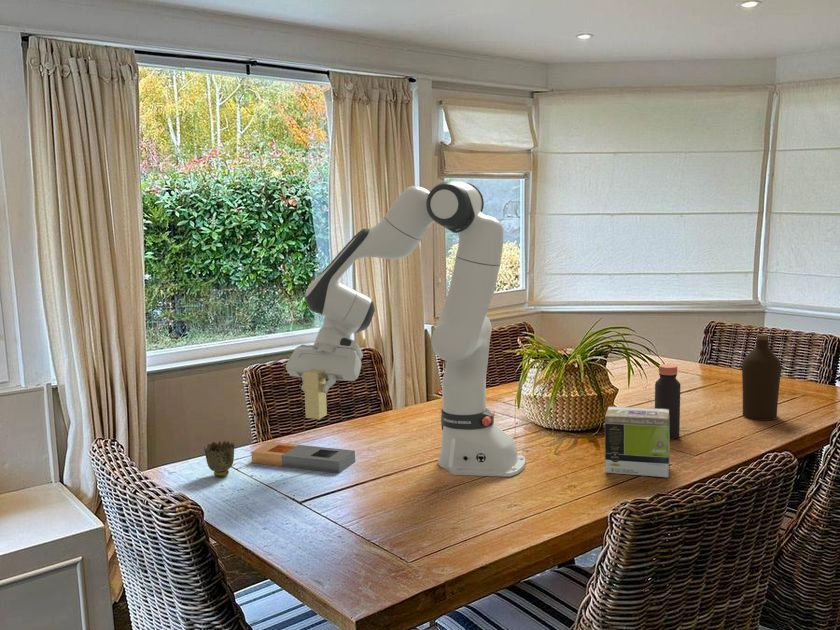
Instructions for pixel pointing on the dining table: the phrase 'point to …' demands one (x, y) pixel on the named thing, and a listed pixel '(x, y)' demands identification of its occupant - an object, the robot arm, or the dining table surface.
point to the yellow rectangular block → (315, 394)
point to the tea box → (637, 441)
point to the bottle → (669, 396)
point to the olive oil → (761, 381)
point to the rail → (303, 457)
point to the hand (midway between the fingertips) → (314, 391)
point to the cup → (220, 457)
